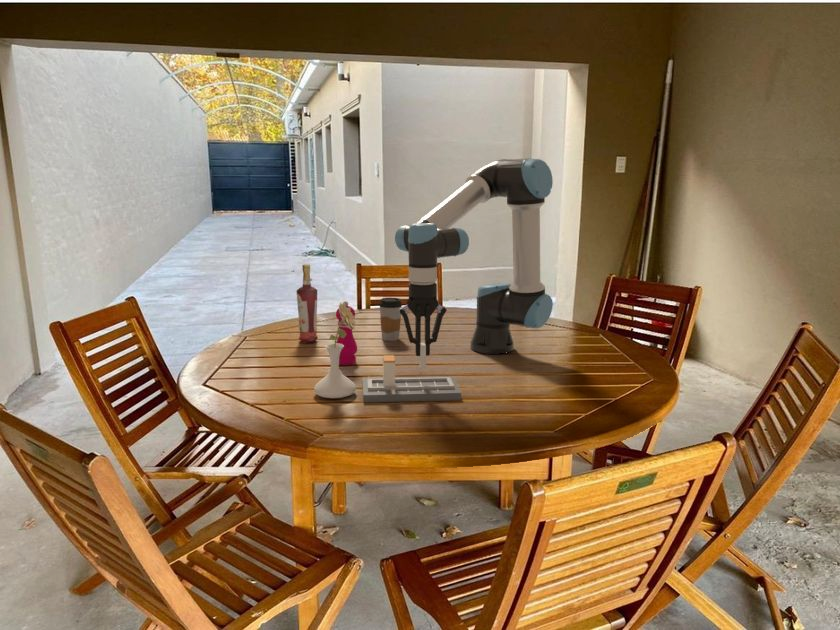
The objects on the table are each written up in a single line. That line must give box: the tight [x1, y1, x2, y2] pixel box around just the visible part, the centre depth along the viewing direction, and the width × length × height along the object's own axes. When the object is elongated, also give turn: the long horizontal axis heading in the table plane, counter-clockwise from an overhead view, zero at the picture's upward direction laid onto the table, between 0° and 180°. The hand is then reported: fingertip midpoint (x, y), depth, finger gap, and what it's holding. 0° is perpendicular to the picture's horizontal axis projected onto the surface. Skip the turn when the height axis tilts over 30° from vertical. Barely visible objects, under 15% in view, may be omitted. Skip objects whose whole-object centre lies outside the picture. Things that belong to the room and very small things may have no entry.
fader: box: [382, 354, 396, 387], centre depth 157 cm, size 3×5×8 cm, turn 6°
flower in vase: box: [313, 302, 357, 399], centre depth 154 cm, size 13×11×25 cm
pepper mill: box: [335, 300, 358, 366], centre depth 183 cm, size 7×7×20 cm
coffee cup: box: [378, 297, 403, 342], centre depth 212 cm, size 8×8×15 cm
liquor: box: [296, 264, 319, 344], centre depth 206 cm, size 7×7×28 cm
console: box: [362, 375, 462, 403], centre depth 159 cm, size 26×14×3 cm, turn 96°
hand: (422, 366), depth 158 cm, fingers closed
